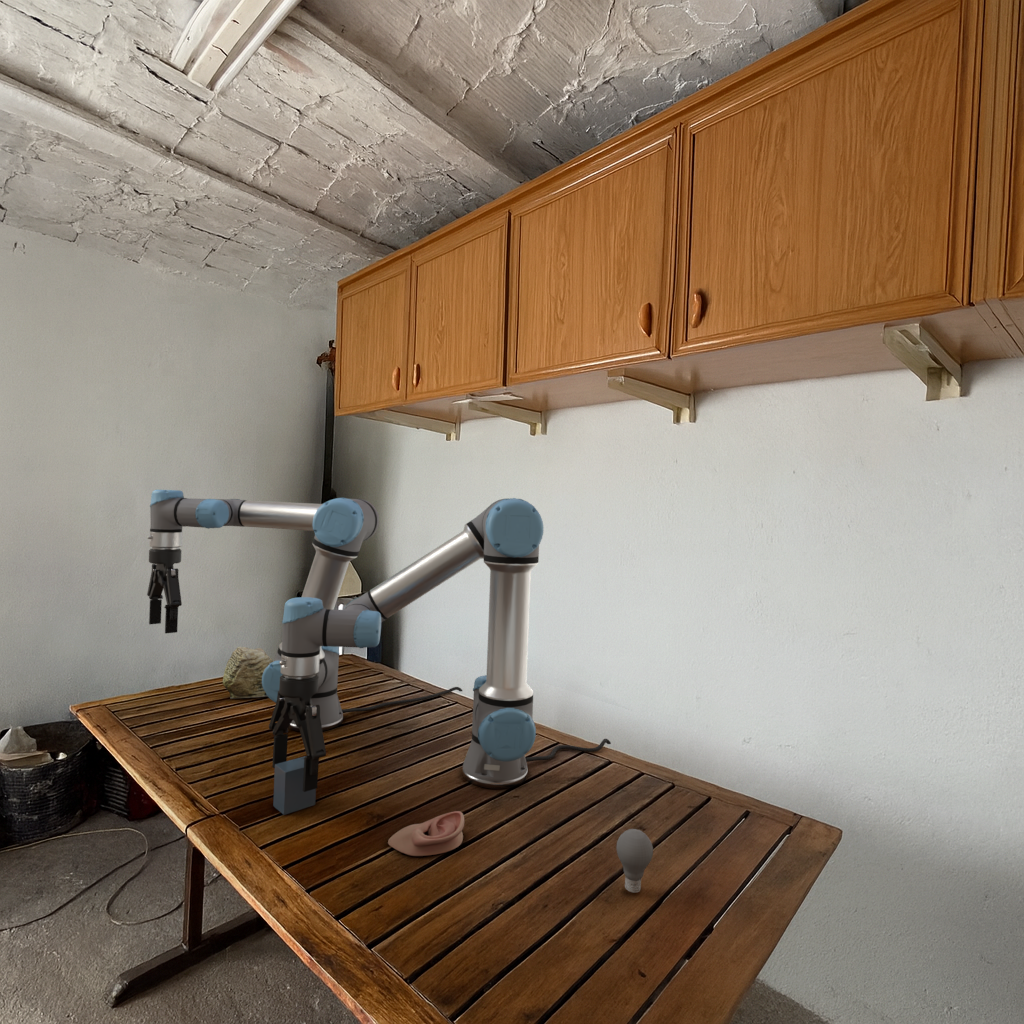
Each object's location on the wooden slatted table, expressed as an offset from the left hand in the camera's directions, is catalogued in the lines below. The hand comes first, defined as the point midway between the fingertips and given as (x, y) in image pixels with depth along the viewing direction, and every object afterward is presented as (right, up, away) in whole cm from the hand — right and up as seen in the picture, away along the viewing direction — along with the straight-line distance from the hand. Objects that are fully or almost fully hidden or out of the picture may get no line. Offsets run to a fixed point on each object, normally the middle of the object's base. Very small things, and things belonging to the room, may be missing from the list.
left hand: (162, 628), depth 168 cm
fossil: (+12, -27, +31) cm, 42 cm away
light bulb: (+113, -33, -62) cm, 133 cm away
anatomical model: (+76, -31, -49) cm, 96 cm away
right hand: (+48, -24, -38) cm, 66 cm away
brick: (+48, -29, -38) cm, 68 cm away
